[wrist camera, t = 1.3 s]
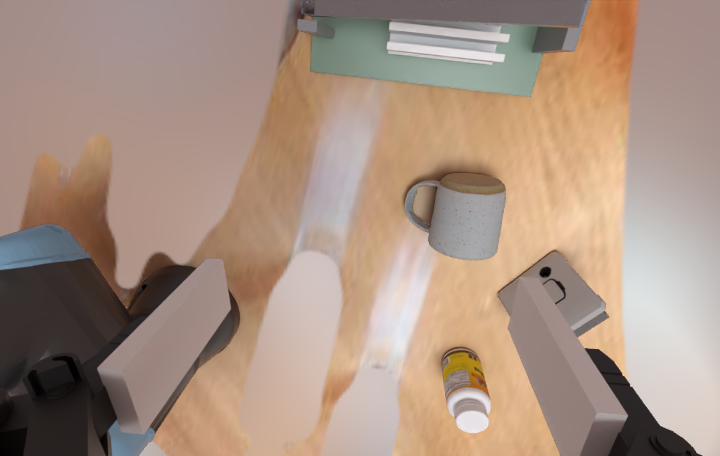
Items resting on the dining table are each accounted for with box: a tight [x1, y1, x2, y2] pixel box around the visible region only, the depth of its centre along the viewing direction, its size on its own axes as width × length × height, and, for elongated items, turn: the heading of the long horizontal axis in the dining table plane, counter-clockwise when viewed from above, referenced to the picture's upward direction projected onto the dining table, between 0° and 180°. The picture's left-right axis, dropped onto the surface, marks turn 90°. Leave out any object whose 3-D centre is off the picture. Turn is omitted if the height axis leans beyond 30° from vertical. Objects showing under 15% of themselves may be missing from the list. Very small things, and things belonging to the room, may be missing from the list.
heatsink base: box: [297, 0, 591, 97], centre depth 32 cm, size 23×12×9 cm, turn 84°
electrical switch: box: [499, 251, 609, 337], centre depth 43 cm, size 9×5×9 cm, turn 139°
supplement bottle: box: [442, 348, 491, 433], centre depth 49 cm, size 6×6×10 cm
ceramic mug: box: [405, 173, 506, 260], centre depth 40 cm, size 11×8×8 cm
